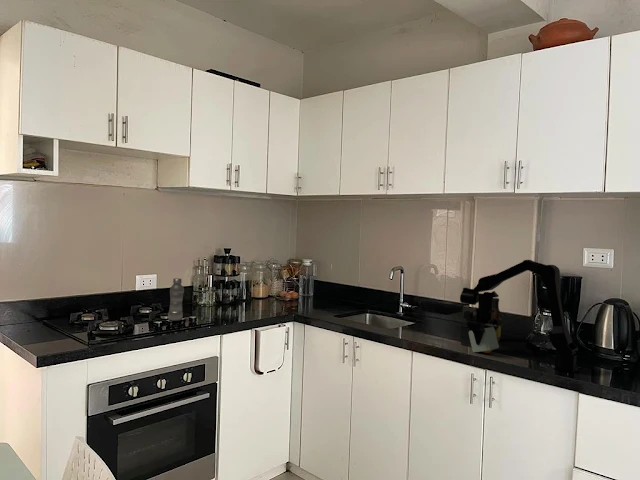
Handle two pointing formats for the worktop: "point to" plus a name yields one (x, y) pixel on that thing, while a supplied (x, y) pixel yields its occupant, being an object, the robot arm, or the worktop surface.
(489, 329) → the sage green lidded box
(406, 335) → the worktop surface
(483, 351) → the ball
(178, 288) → the plastic bottle
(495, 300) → the sauce bottle
